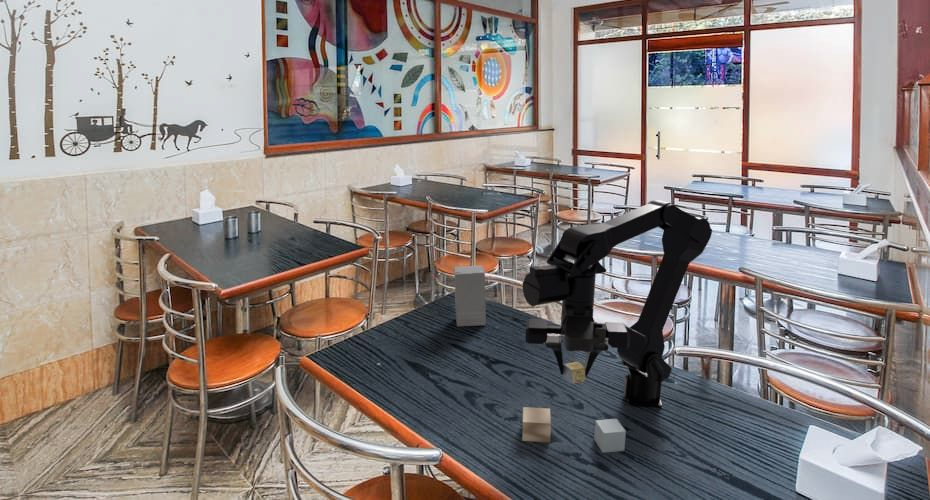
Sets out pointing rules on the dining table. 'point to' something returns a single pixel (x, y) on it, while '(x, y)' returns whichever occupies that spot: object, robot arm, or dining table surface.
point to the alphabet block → (574, 372)
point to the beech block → (536, 424)
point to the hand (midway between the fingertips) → (573, 374)
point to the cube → (609, 435)
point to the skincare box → (470, 295)
